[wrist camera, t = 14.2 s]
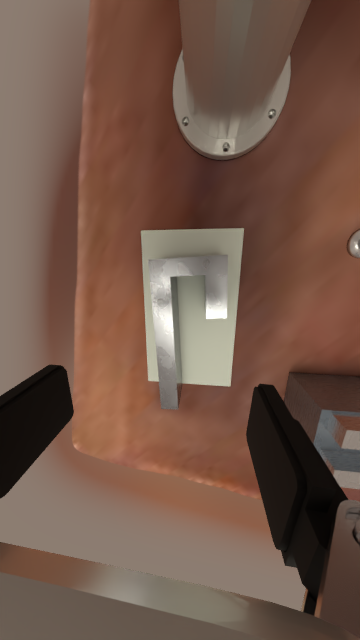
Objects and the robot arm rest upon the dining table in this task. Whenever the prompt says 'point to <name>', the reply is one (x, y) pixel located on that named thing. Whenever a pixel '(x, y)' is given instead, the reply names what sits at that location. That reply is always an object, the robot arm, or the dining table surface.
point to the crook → (168, 312)
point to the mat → (196, 303)
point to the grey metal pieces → (330, 412)
